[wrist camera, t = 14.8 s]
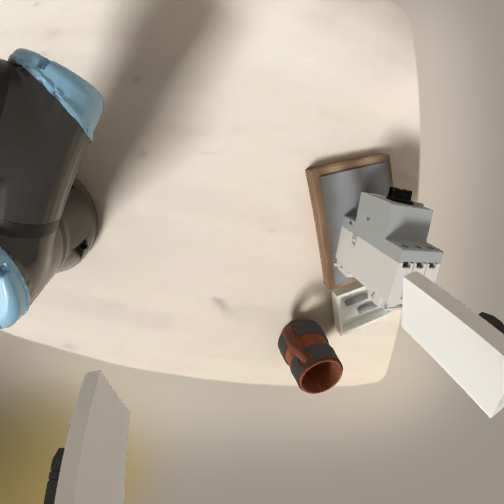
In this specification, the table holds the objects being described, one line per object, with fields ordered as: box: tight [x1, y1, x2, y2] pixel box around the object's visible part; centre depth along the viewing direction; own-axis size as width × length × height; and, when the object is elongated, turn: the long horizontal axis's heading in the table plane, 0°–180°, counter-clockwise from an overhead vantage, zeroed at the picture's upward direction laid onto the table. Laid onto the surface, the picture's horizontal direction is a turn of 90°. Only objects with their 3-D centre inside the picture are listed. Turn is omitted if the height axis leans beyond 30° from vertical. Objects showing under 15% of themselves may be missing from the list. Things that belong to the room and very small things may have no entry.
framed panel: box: [305, 154, 393, 290], centre depth 48 cm, size 14×20×3 cm
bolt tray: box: [331, 281, 394, 336], centre depth 54 cm, size 12×9×3 cm
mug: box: [278, 320, 343, 394], centre depth 50 cm, size 9×12×12 cm
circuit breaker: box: [334, 187, 443, 311], centre depth 40 cm, size 8×14×15 cm, turn 174°
